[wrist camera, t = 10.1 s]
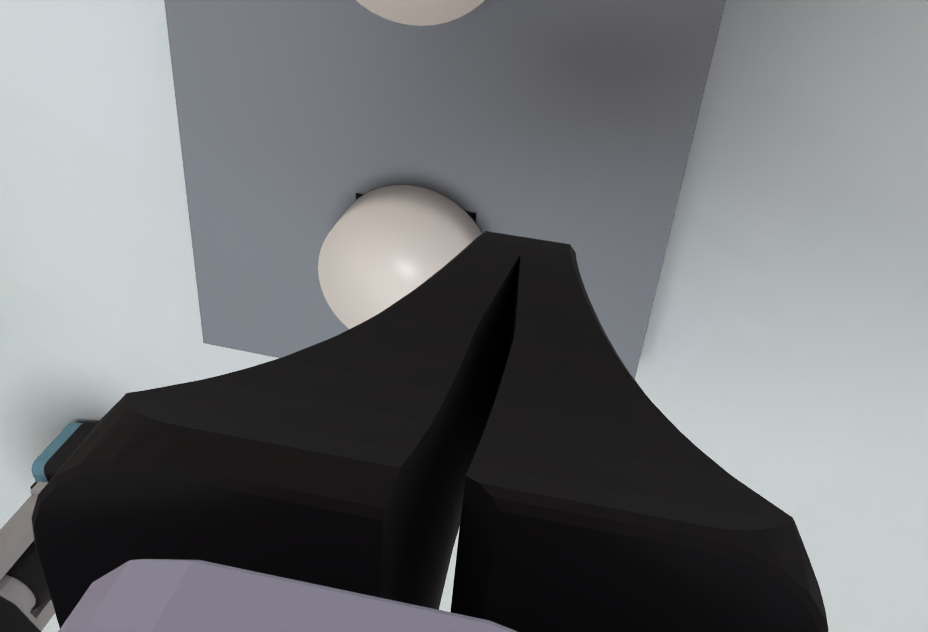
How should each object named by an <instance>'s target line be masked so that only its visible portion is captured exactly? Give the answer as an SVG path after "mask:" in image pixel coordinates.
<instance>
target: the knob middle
mask: <svg viewBox="0 0 928 632" xmlns="http://www.w3.org/2000/svg"><path fill="white" fill-rule="evenodd" d="M356 1H357V2H358V3H359V4H361V5H362V6H364V7H365V8H367V9H368V10H369V11H371V12H373V13H375V14H377V15H379V16H381V17H383V18H385V19H388V20H391V21H394V22H397V23H401V24H406V25H415V26H428V25H437V24H442V23H446V22H449V21H452V20H455V19H457V18H460V17H462V16H463V15H465V14H467V13H469V12H471V11H472V10H474V9H475V8H476V7H478V6H479V5H480V4H482V3H483V2H484V1H485V0H356Z"/></svg>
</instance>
